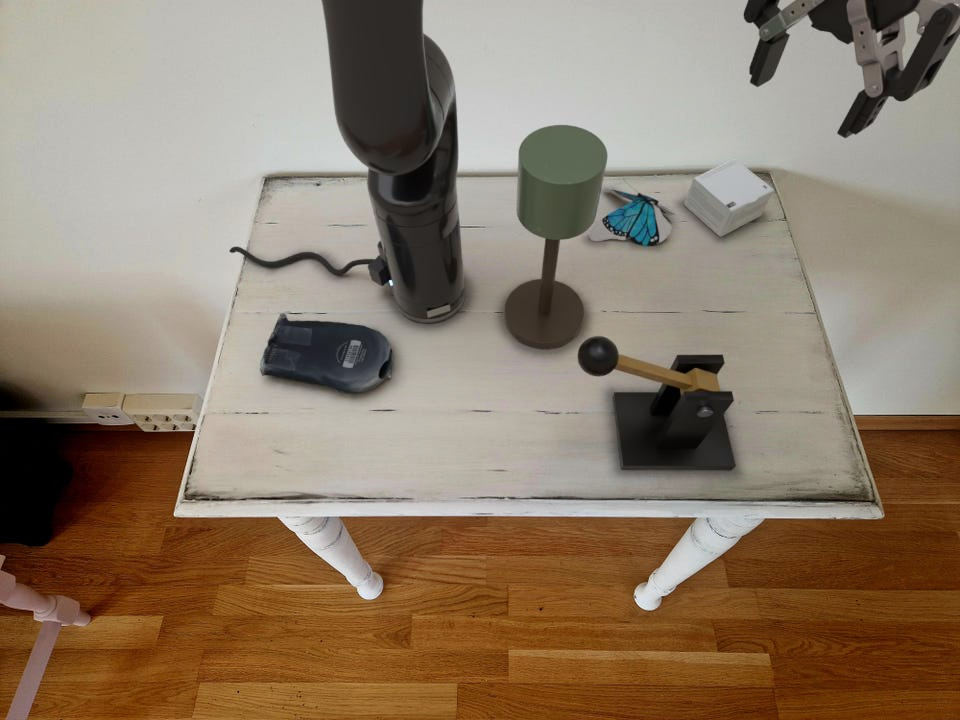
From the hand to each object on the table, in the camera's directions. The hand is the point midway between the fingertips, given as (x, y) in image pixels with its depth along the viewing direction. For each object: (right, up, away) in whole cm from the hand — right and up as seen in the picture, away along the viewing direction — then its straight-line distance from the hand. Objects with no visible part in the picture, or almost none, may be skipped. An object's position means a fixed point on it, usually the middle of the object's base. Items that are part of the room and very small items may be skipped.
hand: (802, 106), depth 46 cm
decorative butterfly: (-4, -1, +35) cm, 35 cm away
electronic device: (-44, -21, +25) cm, 55 cm away
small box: (+8, +1, +36) cm, 37 cm away
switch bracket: (-5, -29, +18) cm, 35 cm away
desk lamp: (-18, -15, +27) cm, 36 cm away
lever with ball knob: (-11, -22, +8) cm, 26 cm away
